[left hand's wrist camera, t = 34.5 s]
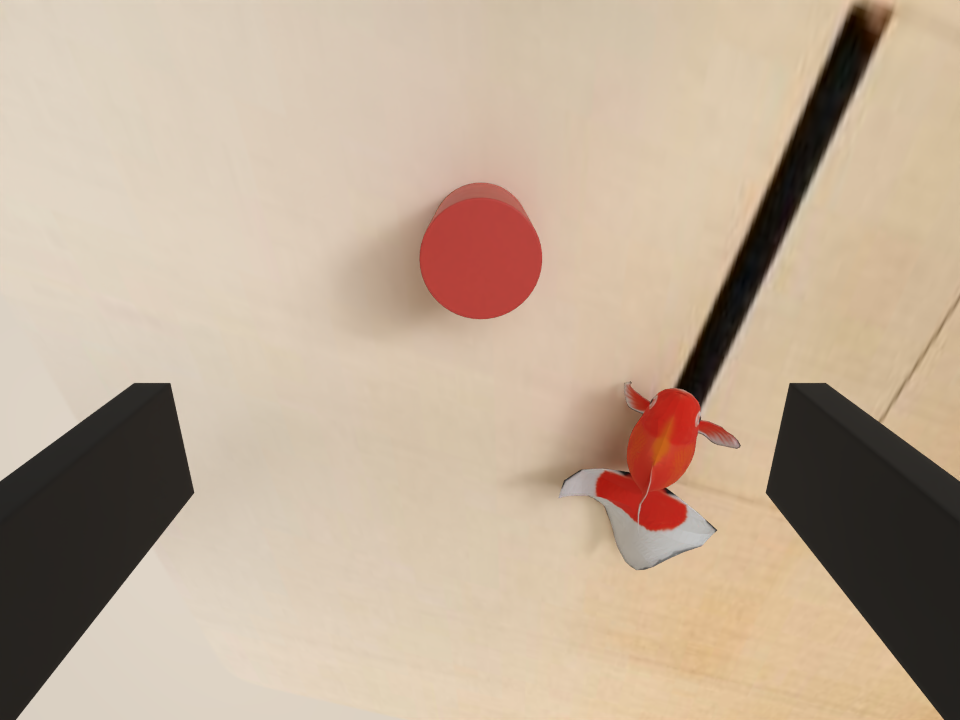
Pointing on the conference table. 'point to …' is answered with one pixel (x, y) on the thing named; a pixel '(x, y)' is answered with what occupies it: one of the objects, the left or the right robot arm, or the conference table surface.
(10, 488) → the left robot arm
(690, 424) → the fish
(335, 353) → the conference table surface
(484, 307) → the canister
